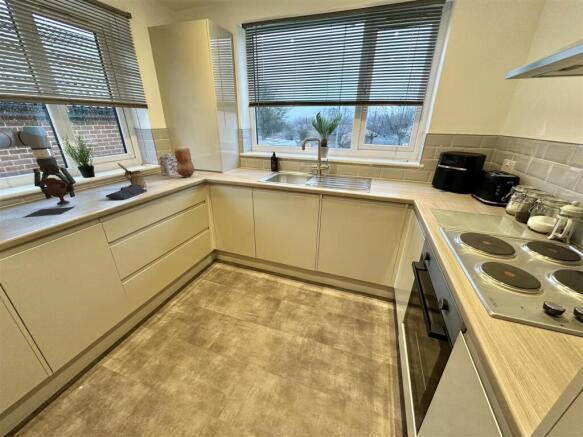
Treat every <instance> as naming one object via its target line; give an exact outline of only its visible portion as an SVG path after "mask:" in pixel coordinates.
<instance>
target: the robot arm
mask: <svg viewBox="0 0 583 437" xmlns="http://www.w3.org/2000/svg"><path fill="white" fill-rule="evenodd" d="M22 147H30V150H31V152H32V155H33V157H34V158H35V161H36V163H37V166H38V167H35V168H32V171H33V175H34V176H33V178H34V179H33V181H34V182H33V183H34V184H33V185H34V187H36V188H39V189H40V191H41V193H42V194H44V196H45V198H46V200H50V199H52V198H53V196H51V195H49V194H47V193H46V192H45V191H44V189H45V188H47V186H46V185H45V184H44V181H45V180H46V179H47V178H49V176H55V177H57V178H58V179H59V180H62V181H63V182H65V183H66V184H67V185H68V186H67V189H68V191H69V193H68V194H69V196H70V198H75V197H76V194H75V188H74V185H75V184H77V181H76V180H75V179H74V177H73V176H72V175H71V174H70V173H69V171H68V170H67V167H66V166H59V164H58V162H57V158H56V157H55V154H54V151H53V149H52V146H51V144H50V141H49V138H48V135H47V132H46V131H45V129H44V127H42V126H41V125H33V126H31V125H29V126H27V125H26V126H23V127H22V130H0V149H1V150H2V149H9V148H22Z"/></svg>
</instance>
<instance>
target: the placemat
mask: <svg viewBox="0 0 583 437" xmlns="http://www.w3.org/2000/svg"><path fill="white" fill-rule="evenodd" d="M73 208H75V206H65V207H54V208H53V207H52V208H41V209H39V210H36V211H33V212H32V213H30V214H27V215H25V216H23V217H22V219H23V218H36V217H49V216H60V215H63V214H64V213H66V212H68V211H70V210H72V209H73Z"/></svg>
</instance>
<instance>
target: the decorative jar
mask: <svg viewBox="0 0 583 437" xmlns="http://www.w3.org/2000/svg"><path fill="white" fill-rule="evenodd" d="M158 162H159V166H160V171H161V175H162V176H167V177H171V176H177V175H179V174H178V172H177V160H176V157H175V154H171V153H169V152H167V153H164V155H161V156H160V157H159V158H158Z"/></svg>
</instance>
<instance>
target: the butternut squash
mask: <svg viewBox="0 0 583 437" xmlns="http://www.w3.org/2000/svg"><path fill="white" fill-rule="evenodd" d="M174 155H175V157H176V160H177V172H178V174H177V175H179V176H181V177H183V178H190V177H192V176H193V175H194V173H195V166H194V164H193V161H192V155H191V152H190V148H189V147H188V146H187V145H181V146H177V147H175V148H174Z"/></svg>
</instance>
